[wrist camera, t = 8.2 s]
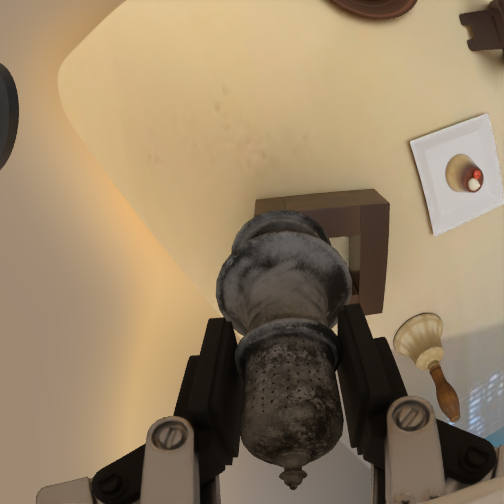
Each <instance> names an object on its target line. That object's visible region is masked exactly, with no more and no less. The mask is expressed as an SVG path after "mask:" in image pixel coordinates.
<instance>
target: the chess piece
mask: <svg viewBox="0 0 504 504" xmlns="http://www.w3.org/2000/svg"><path fill="white" fill-rule="evenodd" d="M351 296H352V279H351V276H350V273H349V270H348V266H347V264H346V262H345V261H344V260H343V258H342V257H341V256H340V254H339V253H338V251H337V250H335V249H334V248H333V247H331V244H330V241H329V238H328V235H327V233H326V232H325V231H324V229H323V228H322V227H321V225H320V224H319V223H317V222H316V221H315V220H313V219H312V218H311V217H309V216H308V215H305V214H303V213H300V212H297V211H292V210H284V209H280V210H273V211H267V212H265V213H262V214H260V215H257V216H255V217H254V218H252V219H251V220H250V221H248V222H247V223H246V224H244V226H243V227H242V228H241V230H240V231H239V232H238V234H237V235H236V238H235V240H234V243H233V245H232V252H231V255H230V256H229V257H228V259H227V260H226V261H225V262H224V264H223V265H222V268H221V270H220V273H219V276H218V278H217V284H216V298H217V302H218V306H219V309H220V311H221V313H222V315H223V316H224V317H225V318H226V320H227V321H231V322H232V324H233V328H234V329H235V330H236V331H237V332H238V333H240V334H241V335H243V336H244V337H243V338H242V339H241V340H240V342H239V344H238V346H237V348H236V350H235V363H236V366H237V370H238V373H239V375H240V376H241V377H242V379H243V380H244V386H243V398H242V409H241V420H240V435H241V439H242V442H243V444H244V446H245V447H246V448H247V450H248V451H249V452H250V453H251V454H252V455H253V456H255V457H257V458H258V459H260V460H263V461H265V462H267V463H270V464H274V465H278V466H281V467H284V469H285V470H284V472H282V473H281V474H280V476H279V477H280V478H281V479H282V480H284V483H285V484H286V485H287V486H289V487H290V489H291V490H295V489H296V488H297V486H298V485H300V484H301V482H302V480H303V478H305V477H306V476H307V474H306V472H305V471H303V470H302V466H304V465H306V464H308V463H309V462H312V461H314V460H316V459H318V458H320V457H322V456H324V455H325V454H327V453H328V452H329V451H331V450H332V449H333V448H334V446H335V445H336V443H337V442H338V441H339V439H340V437H341V436H342V431H343V422H344V419H343V413H342V407H341V401H340V396H339V390H338V385H337V380H336V374H335V371H336V370H337V369H338V367H339V365H340V362H341V354H342V346H341V343H340V340H339V338H338V336H337V335H336V334H335V333H334V332H333V331H332V329H331V328H333V327H334V326H335V325H336V324H337V323H338V310H343V306H344V305H349V302H350V299H351Z"/></svg>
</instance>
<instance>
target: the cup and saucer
mask: <svg viewBox="0 0 504 504" xmlns="http://www.w3.org/2000/svg"><path fill="white" fill-rule="evenodd" d="M331 1H332V2H334V3H335V4H337V5H338V6H340V7H341V8H343V9H345V10H347V11H349V12H351V13H354V14H357V15H360V16H363V17H368V18H374V19H388V18H394V17H398V16H401V15H403V14H405V13H407V12H408V11H409V10H411V9H412V8H413V6H414V5H415V4H416V2H417V0H331Z"/></svg>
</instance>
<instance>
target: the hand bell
mask: <svg viewBox="0 0 504 504" xmlns="http://www.w3.org/2000/svg"><path fill="white" fill-rule="evenodd" d="M442 330H443V324H442V320H441V319H440V318H439V317H438V316H437V315H435V314H430V313H428V314H421V315H418V316H416V317H413V318H412V319H410V320H409V321H407V322H406V323H405V324H404V325H402V327H401V328H400V329H399V330H398V332H397V333H396V335H395V338H394V348H395V350H396V351H397V352H398V353H399V354H401V355H403V356H409V357H410V358H411V359H412V360H413V361H414V363H415V364H416V366H417V367H418V368H419V369H421V370H428V369H429V371H430V374H431V376H432V378H433V380H434V382H435V385H436V394H437V400H438V403H439V406H440V408H441V410H442V412H443V413H444V414H445V415H446V416H447V417H448V418H449V419H450V421H451V422H452V423H453V422H456V421H458V420H459V419H460V408H459V400H458V397H457V394H456V392H455V390H454V389H453V387H452V386H451V385H450V384H449V383H448V382H447V381H446V379H445V377H444V375H443V372H442V370H441V367H440V364H439V362H440V361H441V360H442V358H443V356H444V350H443V348H442V345H441V341H440V337H441V334H442Z"/></svg>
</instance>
